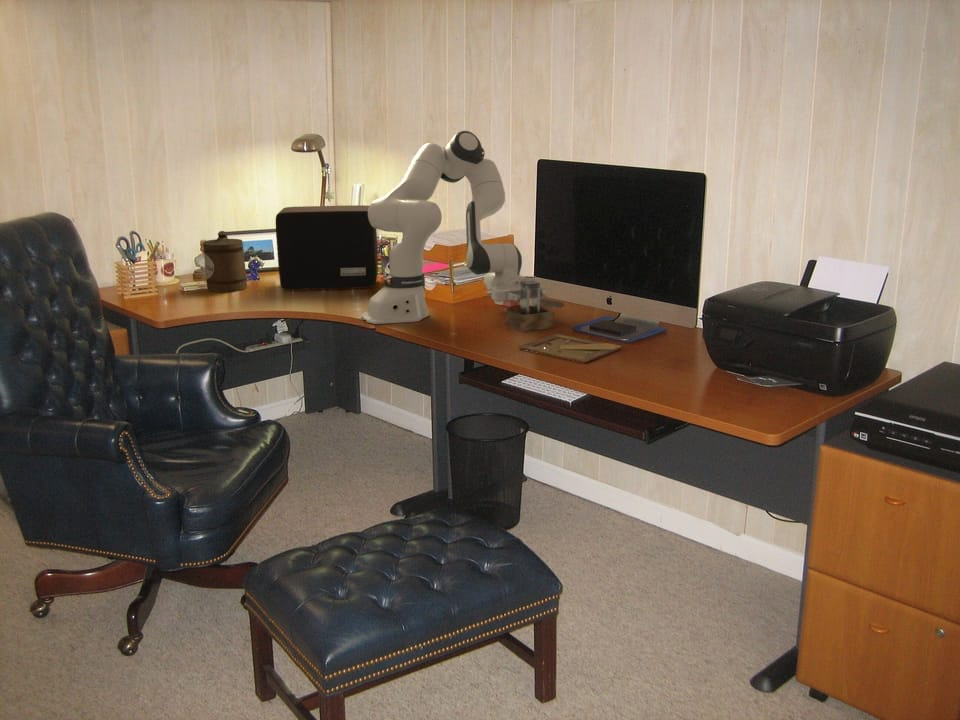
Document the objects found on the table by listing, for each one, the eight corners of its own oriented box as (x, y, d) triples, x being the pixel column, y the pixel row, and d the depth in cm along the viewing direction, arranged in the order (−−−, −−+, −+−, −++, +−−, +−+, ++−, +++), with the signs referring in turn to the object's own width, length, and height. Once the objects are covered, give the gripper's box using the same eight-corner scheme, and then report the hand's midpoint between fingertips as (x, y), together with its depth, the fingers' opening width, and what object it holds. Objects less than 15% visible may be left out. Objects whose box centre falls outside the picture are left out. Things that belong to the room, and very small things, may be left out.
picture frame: (621, 351, 276) (555, 338, 291) (621, 345, 275) (555, 332, 290) (585, 366, 262) (518, 351, 277) (585, 360, 262) (518, 345, 277)
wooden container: (209, 285, 369) (203, 229, 362) (248, 283, 371) (243, 227, 365) (205, 293, 355) (199, 235, 348) (246, 291, 357) (241, 233, 351)
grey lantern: (526, 324, 300) (526, 284, 296) (520, 321, 304) (520, 281, 300) (540, 322, 302) (540, 282, 298) (533, 319, 306) (533, 280, 302)
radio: (378, 280, 374) (375, 204, 366) (376, 289, 357) (373, 210, 349) (286, 282, 372) (281, 206, 363) (280, 292, 355) (274, 212, 346)
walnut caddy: (522, 331, 296) (522, 316, 295) (506, 323, 306) (506, 308, 305) (554, 327, 300) (554, 312, 299) (538, 319, 310) (538, 304, 309)
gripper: (483, 281, 307) (501, 290, 295) (540, 276, 315) (559, 284, 303) (484, 300, 309) (501, 309, 297) (539, 294, 317) (559, 303, 304)
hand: (531, 296), depth 300 cm, fingers open, 8 cm apart
